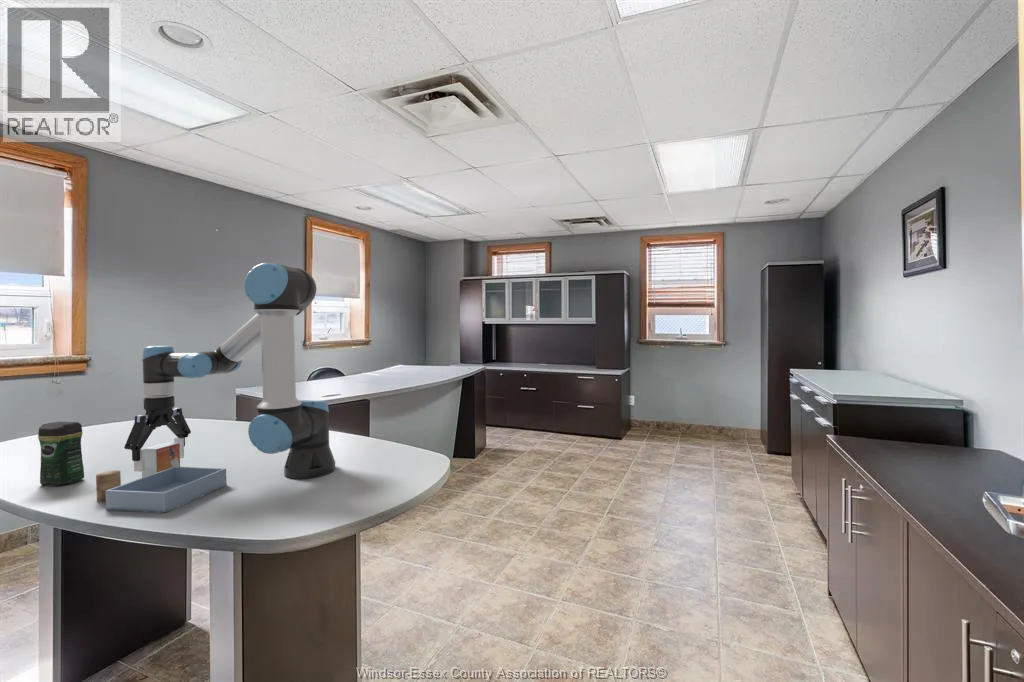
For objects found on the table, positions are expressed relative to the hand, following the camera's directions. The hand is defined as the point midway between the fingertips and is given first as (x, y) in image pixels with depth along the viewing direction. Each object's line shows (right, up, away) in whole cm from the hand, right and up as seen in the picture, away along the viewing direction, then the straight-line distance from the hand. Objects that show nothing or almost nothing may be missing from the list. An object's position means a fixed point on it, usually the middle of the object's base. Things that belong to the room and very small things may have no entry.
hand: (160, 464), depth 140 cm
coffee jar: (-28, -5, -2) cm, 29 cm away
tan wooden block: (-2, -5, -16) cm, 17 cm away
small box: (0, -5, 0) cm, 5 cm away
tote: (+15, -5, -15) cm, 21 cm away
